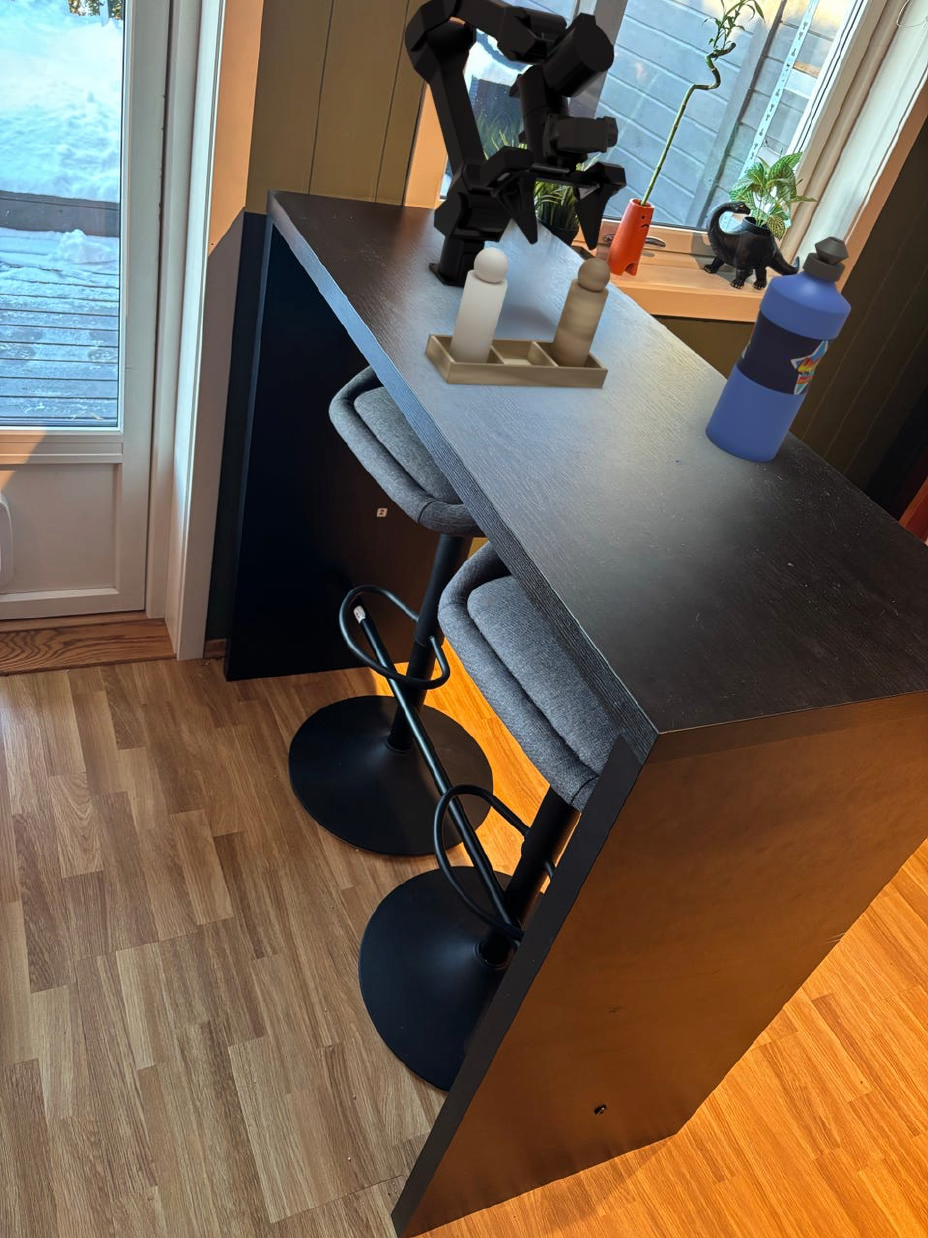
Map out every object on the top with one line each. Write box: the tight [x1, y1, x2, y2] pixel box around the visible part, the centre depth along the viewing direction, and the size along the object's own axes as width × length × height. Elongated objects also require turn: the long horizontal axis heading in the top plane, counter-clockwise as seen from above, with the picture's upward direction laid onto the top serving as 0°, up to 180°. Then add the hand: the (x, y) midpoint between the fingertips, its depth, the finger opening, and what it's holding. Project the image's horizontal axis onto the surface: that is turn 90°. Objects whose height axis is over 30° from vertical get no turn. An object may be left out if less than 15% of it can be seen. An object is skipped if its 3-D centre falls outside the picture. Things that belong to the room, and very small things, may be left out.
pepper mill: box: [549, 257, 611, 367], centre depth 114 cm, size 5×5×14 cm
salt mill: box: [449, 246, 509, 363], centre depth 108 cm, size 5×5×14 cm
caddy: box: [424, 333, 609, 389], centre depth 115 cm, size 7×21×3 cm, turn 113°
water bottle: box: [705, 236, 852, 463], centre depth 110 cm, size 9×9×25 cm
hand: (564, 246), depth 116 cm, fingers open, 9 cm apart
